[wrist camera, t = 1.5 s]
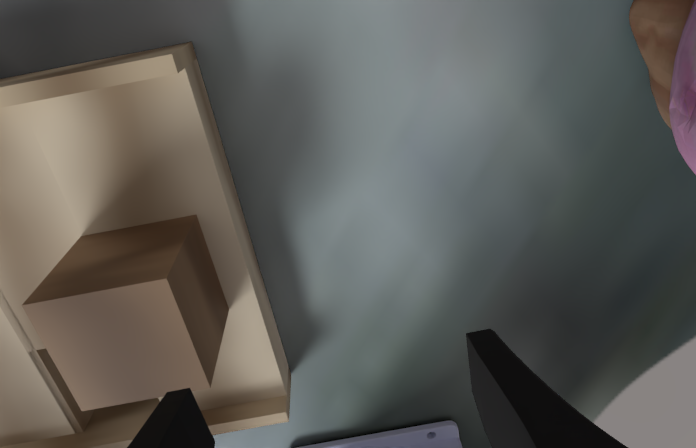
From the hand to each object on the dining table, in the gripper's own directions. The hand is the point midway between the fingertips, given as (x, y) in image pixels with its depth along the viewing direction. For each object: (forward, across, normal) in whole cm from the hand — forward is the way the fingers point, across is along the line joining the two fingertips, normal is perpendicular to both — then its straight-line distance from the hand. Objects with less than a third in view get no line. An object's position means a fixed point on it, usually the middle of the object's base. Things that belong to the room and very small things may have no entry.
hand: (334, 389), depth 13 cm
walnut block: (+8, +7, 0) cm, 11 cm away
